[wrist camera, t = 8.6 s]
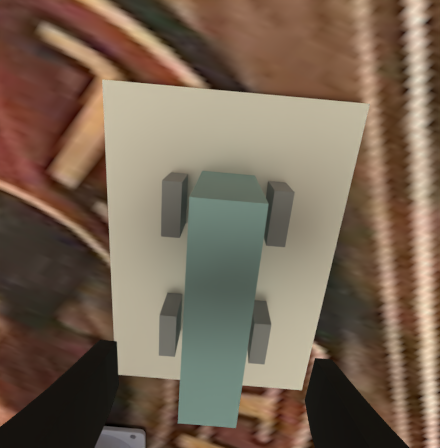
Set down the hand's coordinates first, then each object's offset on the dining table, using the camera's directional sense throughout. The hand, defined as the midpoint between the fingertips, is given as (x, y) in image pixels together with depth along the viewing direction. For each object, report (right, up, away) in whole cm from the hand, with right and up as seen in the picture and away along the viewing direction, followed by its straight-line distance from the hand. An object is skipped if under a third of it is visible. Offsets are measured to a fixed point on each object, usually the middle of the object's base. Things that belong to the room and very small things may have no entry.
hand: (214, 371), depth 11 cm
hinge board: (0, +3, +9) cm, 10 cm away
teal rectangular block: (0, +3, +8) cm, 9 cm away
